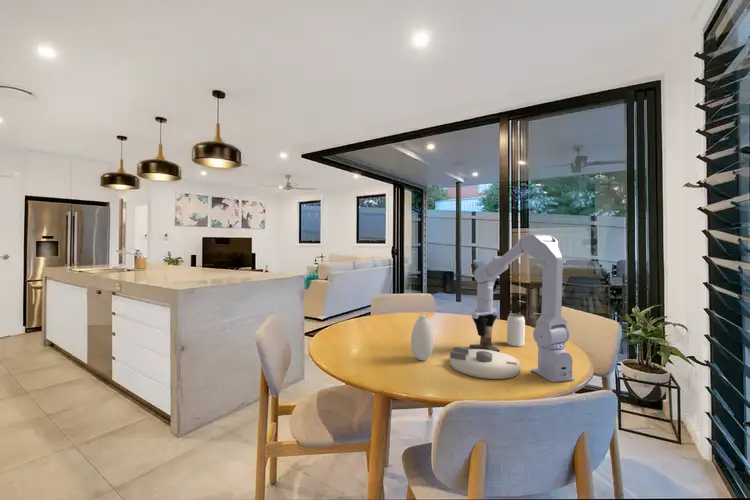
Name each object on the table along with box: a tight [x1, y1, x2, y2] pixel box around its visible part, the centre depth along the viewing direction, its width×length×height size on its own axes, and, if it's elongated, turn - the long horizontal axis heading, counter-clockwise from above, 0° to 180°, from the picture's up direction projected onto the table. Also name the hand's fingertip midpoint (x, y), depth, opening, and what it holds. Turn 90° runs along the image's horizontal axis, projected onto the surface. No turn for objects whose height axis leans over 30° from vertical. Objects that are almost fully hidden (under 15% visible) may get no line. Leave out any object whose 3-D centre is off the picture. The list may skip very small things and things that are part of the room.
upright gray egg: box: [410, 308, 435, 361], centre depth 119 cm, size 8×8×18 cm
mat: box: [469, 343, 501, 352], centre depth 130 cm, size 8×8×1 cm
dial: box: [449, 346, 521, 380], centre depth 113 cm, size 22×22×4 cm
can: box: [506, 312, 526, 348], centre depth 137 cm, size 6×6×12 cm
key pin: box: [479, 325, 493, 346], centre depth 129 cm, size 4×4×7 cm
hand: (484, 334), depth 130 cm, fingers closed on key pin, 4 cm apart
